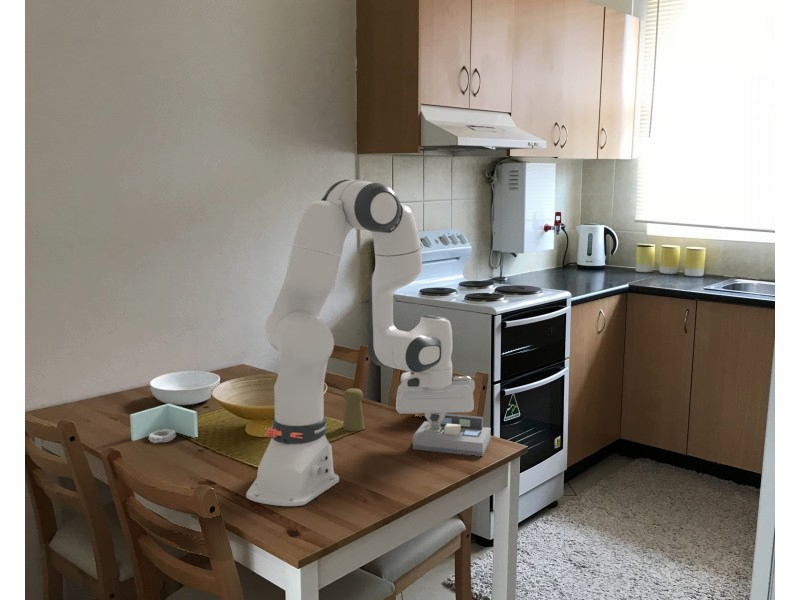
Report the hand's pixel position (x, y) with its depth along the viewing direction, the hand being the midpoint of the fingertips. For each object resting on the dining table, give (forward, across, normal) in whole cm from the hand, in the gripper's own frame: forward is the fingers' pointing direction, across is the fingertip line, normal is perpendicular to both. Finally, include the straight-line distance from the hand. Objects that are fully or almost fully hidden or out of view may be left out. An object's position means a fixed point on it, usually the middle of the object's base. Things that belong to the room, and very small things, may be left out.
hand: (434, 428), depth 190 cm
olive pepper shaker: (+4, +21, -13) cm, 25 cm away
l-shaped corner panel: (+4, +71, -8) cm, 71 cm away
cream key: (+1, -4, +2) cm, 5 cm away
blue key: (+3, -9, +3) cm, 10 cm away
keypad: (+4, -4, +2) cm, 6 cm away
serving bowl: (+4, +72, -41) cm, 83 cm away
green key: (+2, 0, 0) cm, 2 cm away
